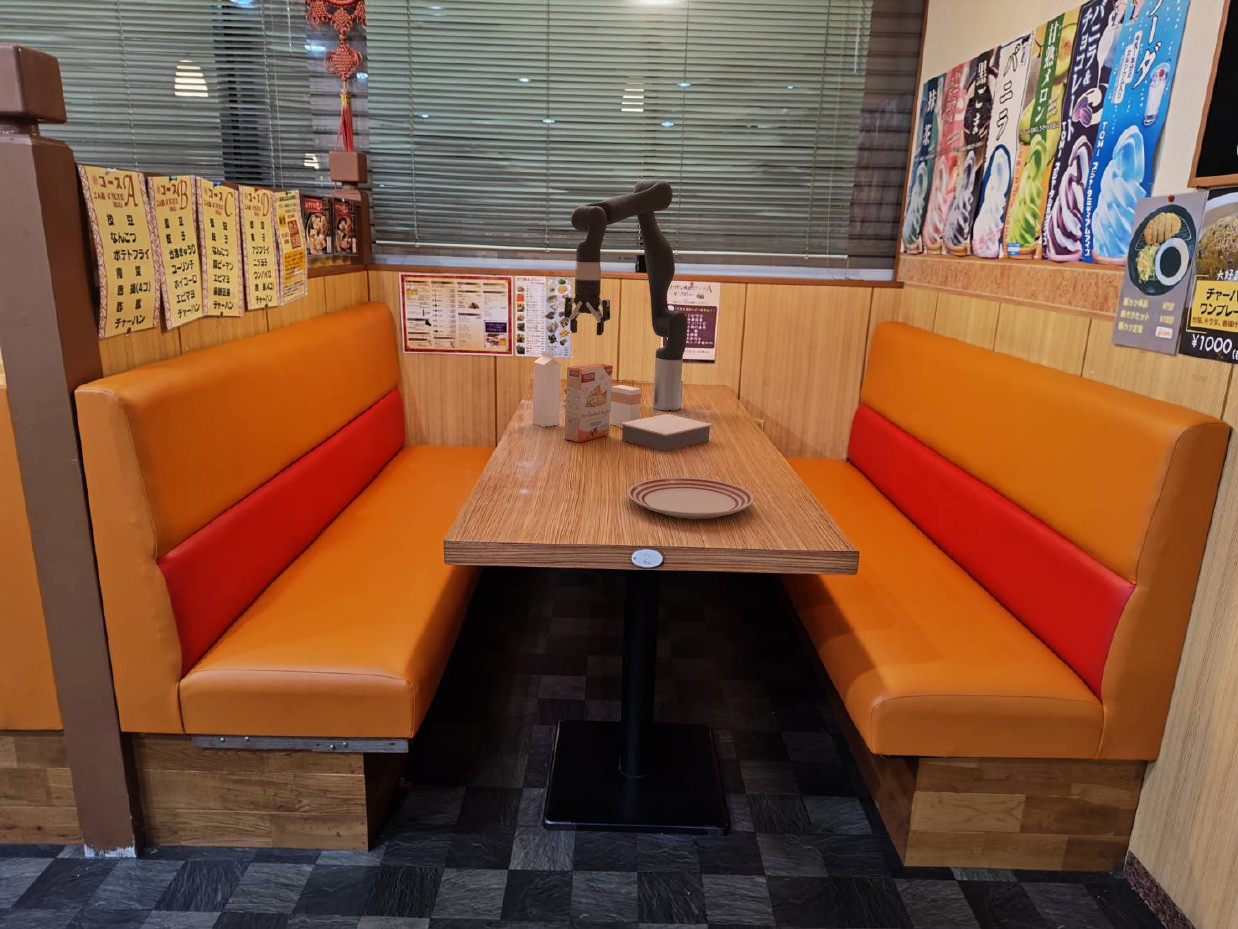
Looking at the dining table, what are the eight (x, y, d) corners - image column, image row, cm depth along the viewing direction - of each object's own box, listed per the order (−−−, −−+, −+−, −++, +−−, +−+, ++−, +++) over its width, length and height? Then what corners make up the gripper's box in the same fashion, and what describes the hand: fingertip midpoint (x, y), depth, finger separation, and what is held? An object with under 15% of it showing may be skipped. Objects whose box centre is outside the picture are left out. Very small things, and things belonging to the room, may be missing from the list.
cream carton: (619, 422, 257) (621, 384, 254) (639, 427, 252) (641, 388, 249) (609, 424, 254) (611, 386, 251) (628, 429, 249) (630, 390, 246)
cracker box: (579, 443, 229) (582, 369, 223) (563, 439, 232) (565, 366, 227) (610, 435, 240) (613, 364, 234) (594, 432, 243) (597, 361, 238)
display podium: (666, 430, 250) (667, 413, 249) (711, 440, 239) (712, 424, 238) (619, 439, 235) (620, 422, 234) (664, 452, 224) (665, 434, 223)
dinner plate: (601, 502, 180) (601, 488, 179) (683, 481, 199) (684, 468, 198) (696, 537, 161) (698, 522, 160) (777, 510, 180) (779, 496, 179)
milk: (542, 427, 247) (544, 354, 241) (532, 423, 251) (533, 351, 245) (559, 425, 250) (561, 353, 244) (549, 421, 255) (550, 350, 249)
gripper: (615, 278, 239) (613, 334, 244) (573, 276, 245) (572, 330, 250) (603, 280, 233) (601, 337, 237) (560, 277, 239) (559, 333, 243)
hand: (586, 333), depth 243 cm, fingers open, 8 cm apart
